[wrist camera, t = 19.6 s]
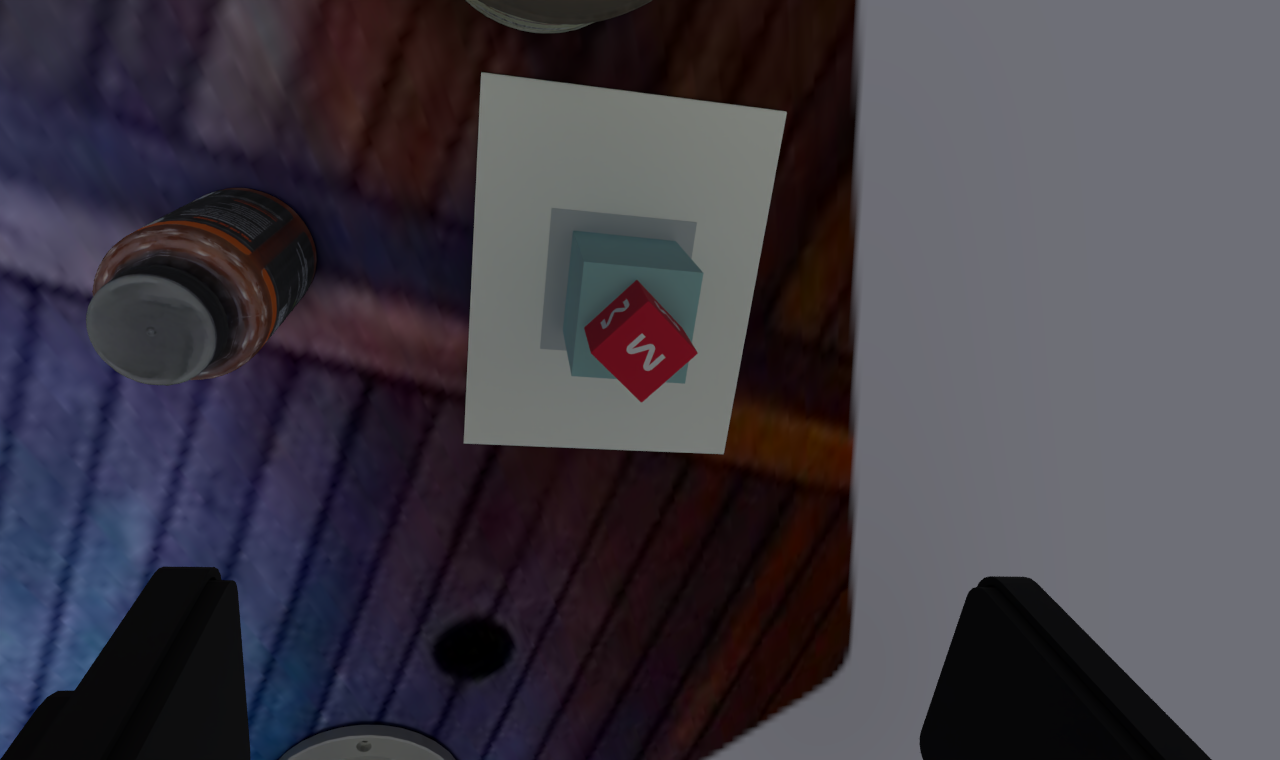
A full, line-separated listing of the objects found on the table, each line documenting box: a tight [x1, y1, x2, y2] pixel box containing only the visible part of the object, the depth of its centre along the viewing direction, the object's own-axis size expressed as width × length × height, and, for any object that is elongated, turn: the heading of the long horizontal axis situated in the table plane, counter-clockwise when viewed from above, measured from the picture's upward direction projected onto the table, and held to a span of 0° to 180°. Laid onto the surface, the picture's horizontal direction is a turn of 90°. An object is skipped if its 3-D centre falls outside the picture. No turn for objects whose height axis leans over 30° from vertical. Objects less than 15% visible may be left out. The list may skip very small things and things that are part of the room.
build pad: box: [464, 72, 787, 454], centre depth 39 cm, size 18×14×1 cm
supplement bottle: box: [86, 188, 317, 386], centre depth 31 cm, size 6×6×11 cm
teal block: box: [563, 231, 703, 384], centre depth 36 cm, size 5×5×6 cm
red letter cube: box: [584, 280, 698, 403], centre depth 32 cm, size 3×3×3 cm
